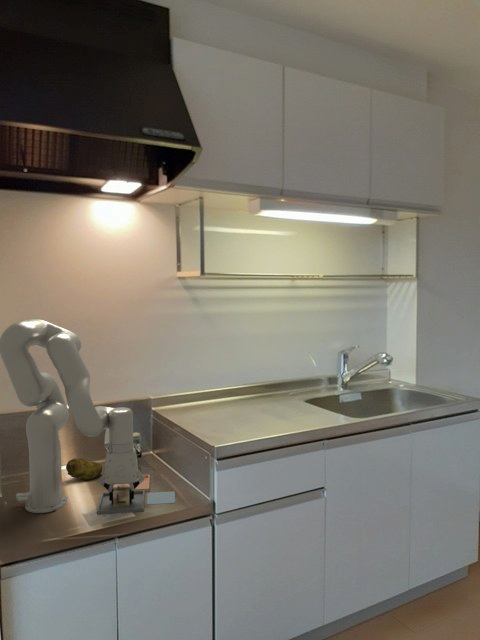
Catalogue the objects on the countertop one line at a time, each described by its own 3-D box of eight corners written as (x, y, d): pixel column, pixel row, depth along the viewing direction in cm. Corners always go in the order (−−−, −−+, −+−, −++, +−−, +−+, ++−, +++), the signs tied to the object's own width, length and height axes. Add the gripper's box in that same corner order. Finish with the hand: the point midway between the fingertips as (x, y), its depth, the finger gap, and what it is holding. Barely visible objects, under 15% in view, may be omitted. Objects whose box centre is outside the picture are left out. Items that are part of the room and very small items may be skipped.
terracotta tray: (110, 495, 168) (110, 491, 168) (113, 480, 181) (113, 476, 181) (149, 492, 170) (149, 488, 170) (149, 478, 183) (149, 474, 183)
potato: (104, 480, 181) (103, 458, 181) (66, 485, 177) (66, 463, 176) (101, 472, 189) (101, 451, 188) (65, 477, 184) (65, 455, 184)
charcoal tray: (97, 515, 153) (97, 511, 153) (102, 497, 167) (102, 492, 167) (143, 512, 155) (143, 508, 155) (144, 494, 169) (144, 490, 169)
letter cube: (113, 507, 158) (113, 491, 158) (114, 500, 163) (114, 485, 163) (129, 505, 159) (129, 490, 159) (130, 499, 164) (130, 484, 164)
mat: (147, 506, 160) (147, 504, 160) (147, 494, 169) (147, 493, 169) (175, 504, 161) (175, 502, 161) (174, 493, 170) (174, 491, 170)
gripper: (92, 451, 155) (93, 508, 156) (148, 449, 158) (148, 505, 159) (95, 444, 162) (96, 498, 163) (148, 442, 165) (148, 495, 166)
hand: (121, 501), depth 161 cm, fingers closed on letter cube, 4 cm apart
